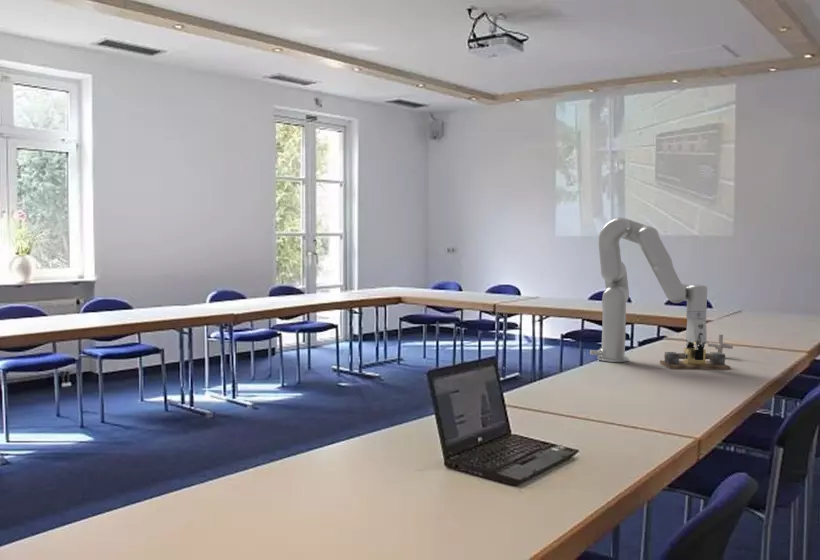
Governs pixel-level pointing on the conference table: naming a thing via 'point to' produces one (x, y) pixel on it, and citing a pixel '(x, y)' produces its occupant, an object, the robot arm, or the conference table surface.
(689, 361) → the block
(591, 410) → the conference table surface
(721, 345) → the pipe connector
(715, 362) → the shaft stand
